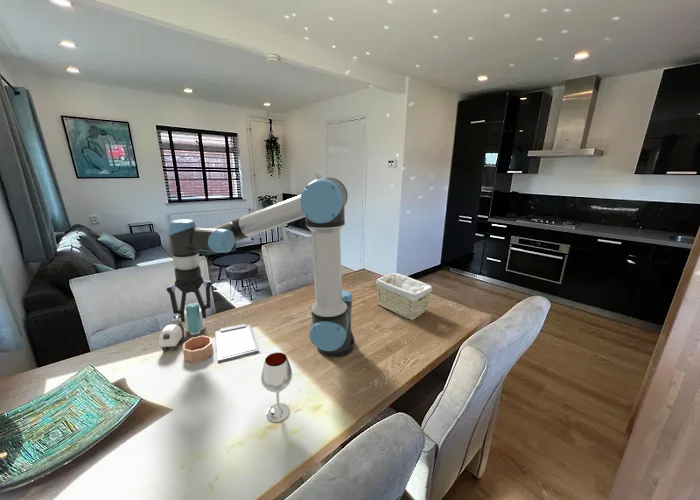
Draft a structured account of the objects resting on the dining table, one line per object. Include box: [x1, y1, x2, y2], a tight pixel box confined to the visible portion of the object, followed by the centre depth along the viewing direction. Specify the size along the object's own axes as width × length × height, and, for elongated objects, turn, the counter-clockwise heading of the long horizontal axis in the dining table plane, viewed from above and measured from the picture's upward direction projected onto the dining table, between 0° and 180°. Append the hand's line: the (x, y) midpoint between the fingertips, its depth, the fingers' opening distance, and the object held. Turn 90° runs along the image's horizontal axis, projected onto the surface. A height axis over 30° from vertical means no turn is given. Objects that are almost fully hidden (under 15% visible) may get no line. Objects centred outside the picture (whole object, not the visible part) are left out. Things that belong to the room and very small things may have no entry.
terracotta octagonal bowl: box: [182, 334, 214, 363], centre depth 102 cm, size 9×9×4 cm
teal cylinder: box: [185, 303, 202, 338], centre depth 98 cm, size 4×4×11 cm
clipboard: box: [214, 323, 260, 363], centre depth 110 cm, size 20×14×2 cm
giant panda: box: [158, 314, 186, 353], centre depth 108 cm, size 15×6×10 cm, turn 10°
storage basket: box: [376, 272, 433, 321], centre depth 141 cm, size 24×16×15 cm
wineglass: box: [260, 351, 293, 423], centre depth 77 cm, size 8×8×18 cm
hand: (195, 327), depth 100 cm, fingers closed on teal cylinder, 4 cm apart
